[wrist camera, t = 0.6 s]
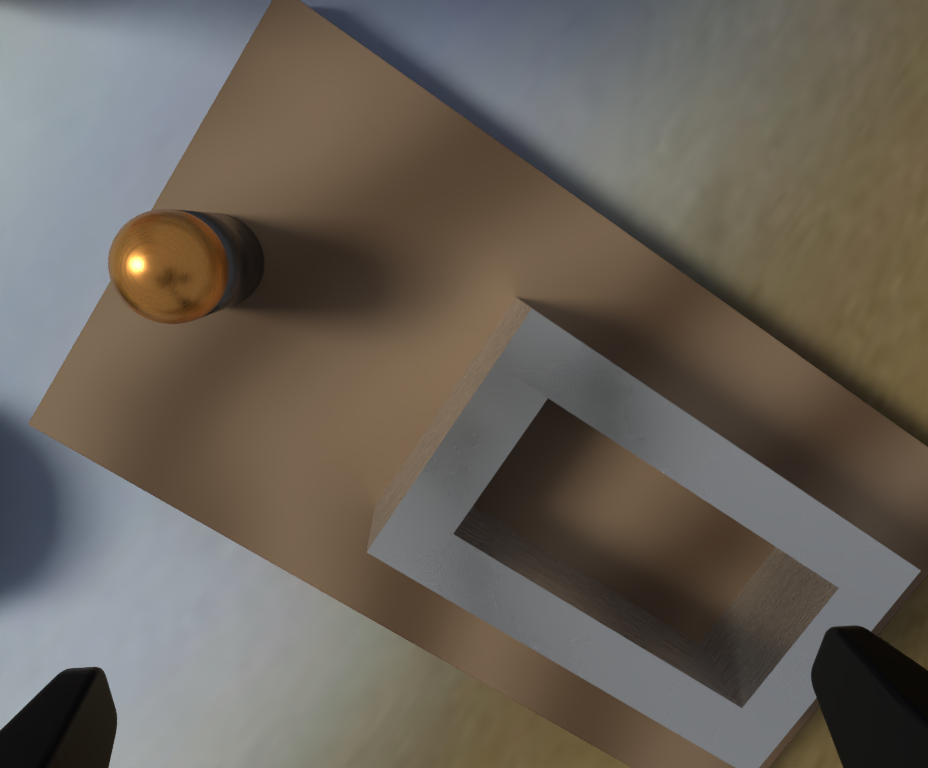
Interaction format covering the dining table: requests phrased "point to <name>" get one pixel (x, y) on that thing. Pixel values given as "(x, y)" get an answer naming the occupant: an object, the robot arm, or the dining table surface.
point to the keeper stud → (184, 264)
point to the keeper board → (451, 374)
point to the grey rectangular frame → (594, 605)
